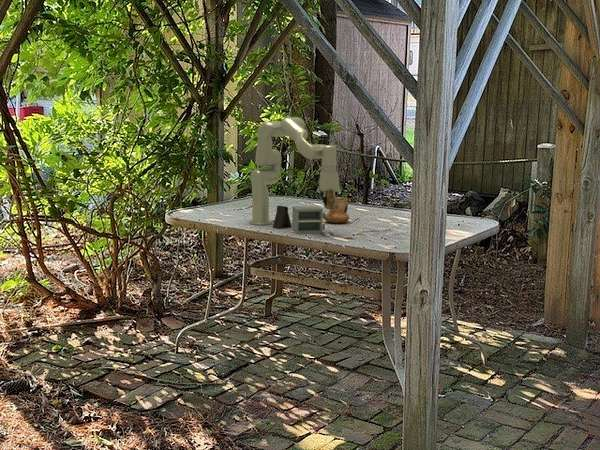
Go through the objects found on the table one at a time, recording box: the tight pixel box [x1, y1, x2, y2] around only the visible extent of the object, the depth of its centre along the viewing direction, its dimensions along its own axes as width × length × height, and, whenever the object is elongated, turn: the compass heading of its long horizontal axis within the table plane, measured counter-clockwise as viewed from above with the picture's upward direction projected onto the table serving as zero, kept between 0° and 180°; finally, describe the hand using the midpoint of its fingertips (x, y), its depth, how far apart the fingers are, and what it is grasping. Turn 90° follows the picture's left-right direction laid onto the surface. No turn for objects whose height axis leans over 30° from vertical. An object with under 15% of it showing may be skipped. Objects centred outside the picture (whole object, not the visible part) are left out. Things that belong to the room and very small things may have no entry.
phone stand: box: [272, 205, 292, 230], centre depth 424 cm, size 9×6×12 cm, turn 135°
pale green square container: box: [291, 205, 335, 237], centre depth 407 cm, size 22×18×13 cm
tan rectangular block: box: [323, 190, 334, 210], centre depth 399 cm, size 4×8×10 cm, turn 11°
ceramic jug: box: [324, 196, 350, 225], centre depth 444 cm, size 18×14×14 cm
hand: (328, 204), depth 399 cm, fingers closed on tan rectangular block, 3 cm apart
